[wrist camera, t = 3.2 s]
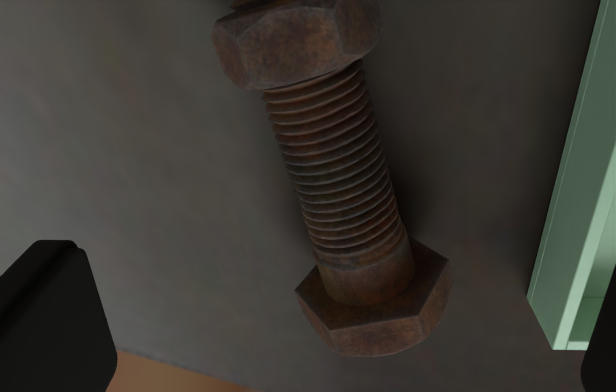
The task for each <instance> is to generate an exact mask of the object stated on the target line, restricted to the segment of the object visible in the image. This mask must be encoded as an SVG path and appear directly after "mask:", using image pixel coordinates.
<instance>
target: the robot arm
mask: <svg viewBox="0 0 616 392" xmlns="http://www.w3.org/2000/svg"><path fill="white" fill-rule="evenodd" d="M116 367H117V352H116V349H115V346H114V342H113V339H112V336H111V332H110V329H109V326H108V323H107V319H106V316H105V313H104V310H103V306H102V303H101V300H100V297H99V293H98V290H97V287H96V284H95V280H94V277H93V274H92V271H91V267H90V264H89V261H88V257H87V255H86V252H85V251H84V250H83V249H81V248H78V247H77V245H76V244H75V243H74V242H73V241H70V240H39V241H36V242H35V243H33V244H32V245H31V246H30V247H29V248H28V249H27V250H26V251H25V252H24V253H23V254H22V255H21V256H20V257H19V258H18V259H17V260H16V261H15V262H14V263H13V264H12V265H11V266H10V267H9V268H8V269H7V270H6V271H5V272H4V273H3V274H2V276H1V277H0V392H105V391H106V389H107V387H108V385H109V383H110V381H111V379H112V377H113V375H114V373H115V371H116ZM581 380H582V384H583V387H584V389H585V391H586V392H616V264H615V267H614V270H613V273H612V276H611V279H610V282H609V285H608V288H607V291H606V294H605V297H604V300H603V303H602V306H601V309H600V312H599V315H598V318H597V321H596V324H595V327H594V330H593V332H592V335H591V338H590V341H589V344H588V347H587V350H586V353H585V356H584V359H583V362H582V365H581Z"/></svg>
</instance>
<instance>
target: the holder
mask: <svg viewBox="0 0 616 392" xmlns="http://www.w3.org/2000/svg"><path fill="white" fill-rule="evenodd" d="M615 264H616V0H601V2H600V6H599V10H598V14H597V18H596V22H595V26H594V30H593V34H592V38H591V42H590V46H589V50H588V54H587V58H586V62H585V66H584V70H583V74H582V78H581V82H580V86H579V90H578V94H577V98H576V102H575V106H574V110H573V114H572V118H571V122H570V126H569V130H568V134H567V138H566V142H565V146H564V150H563V154H562V158H561V162H560V166H559V170H558V174H557V178H556V182H555V186H554V190H553V194H552V198H551V202H550V206H549V210H548V213H547V217H546V221H545V225H544V229H543V233H542V237H541V241H540V245H539V249H538V253H537V257H536V261H535V265H534V269H533V273H532V277H531V281H530V285H529V289H528V293H527V299H528V301H529V303H530V304H531V307H532V309H533V311H534V313H535V315H536V317H537V319H538V321H539V323H540V325H541V327H542V329H543V331H544V333H545V335H546V337H547V339H548V341H549V343H550V345H551V347H552V349H554V350H564V349H566V350H587V347H588V344H589V341H590V338H591V335H592V332H593V330H594V327H595V324H596V321H597V318H598V315H599V312H600V309H601V306H602V303H603V300H604V297H605V294H606V291H607V288H608V285H609V282H610V279H611V276H612V273H613V270H614V267H615Z"/></svg>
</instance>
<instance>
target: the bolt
mask: <svg viewBox="0 0 616 392" xmlns="http://www.w3.org/2000/svg"><path fill="white" fill-rule="evenodd" d="M230 8H232V9H234V10H237V11H236V12H233V13H231V14H229V15H226V16H224V17H222V18H220V19H219V20H217V21H216V23H215V26H214V28H213V32H212V35H211V39H212V41H213V44H214V47H215V49H216V52H217V55H218V57H219V60H220V63H221V65H222V68H223V71H224V73H225V74H226V75H227V76H228V78H229V79H230V80H231V81H232V82H233V83H234V84H235V85H237V86H238V87H239V88H241V89H245V90H261V91H264V92H265V93H264V94H263V96H262V100H264V101H266V102H268V104H267V105H266V108H265V109H266V111H268V112H271V114H270V116H269V120H270V121H271V122H273V123H274V125H273V126H272V129H273V131H274V132H275V133H277V134H276V140H277V142H278V143H280V145H279V148H280V150H281V152H282V153H283V154H282V157H283V159H284V162H286V164H285V165H286V168H287V170H288V172H289V173H288V174H289V178H290V179H292V185H293V186H294V188H295V192H296V195H297V196H298V202H299V204H300V205H301V212H302V213H303V217H304V221H305V223H306V226H307V229H308V231H309V236H310V238H311V240H312V244H313V255H314V258H315V260H316V263H317V265H316V266H315V267H314V268H313V269H312V270H311V272H310V273H309V274H308V275H307V276H306V277H305V279H304V280H303V281H302V282H301V283H300V284H299V286H298V287H297V288H296V289H295V290H294V291H295V293H296V296H297V299H298V301H299V304H300V306H301V309H302V311H303V313H304V315H305V316H306V318H307V319H308V321H309V322H310V324H311V325H312V327H313V328H314V329H315V331H316V332H317V333H318V335H319V336H320V337H321V338H322V340H323V341H324V342H325V344H326V345H327V346H328V347H329V348H330V349H331V350H332V351H334V352H335V353H337V354H338V355H344V356H352V357H379V356H386V355H391V354H394V353H397V352H400V351H403V350H406V349H408V348H410V347H412V346H414V345H416V344H418V343H420V342H422V341H424V340H425V339H426V338H427V337H428V336H429V335H430V334H432V333H433V331H434V330H435V328H436V327H437V326H438V324H439V322H440V320H441V318H442V317H443V315H444V313H445V310H446V307H447V305H448V302H449V299H450V295H451V291H452V288H453V278H452V273H451V268H450V263H449V260H448V259H446V258H445V257H443V256H441V255H440V254H438V253H436V252H435V251H433V250H431V249H430V248H428V247H426V246H425V245H423V244H422V243H420V242H418V241H417V240H415V239H413V238H412V237H410V236H408V235H407V232H406V228H405V226H404V224H403V223H402V222H401V218H400V215H399V212H398V206H397V203H396V197H395V195H394V189H393V186H392V181H391V179H390V177H389V176H390V172H389V169H388V168H387V160H386V159H385V151H384V150H383V149H382V148H383V144H382V141H381V140H380V138H381V136H380V134H379V131H378V123H377V122H376V121H375V117H376V115H375V113H374V111H373V110H372V109H373V104H372V102H371V100H369V99H370V97H371V96H370V94H369V92H368V90H366V88H367V86H368V85H367V82H366V81H365V80H364V79H363V78H364V76H365V72H364V70H362V69H360V67H361V66H362V60H360V59H359V58H361V57H363V56H365V55H366V54H367V53H369V52H370V51H371V50H372V49H374V48H375V46H376V45H377V43H378V41H379V39H380V37H381V35H382V33H383V31H384V29H385V27H386V22H385V17H384V12H383V8H382V3H381V0H234V2H233V4H232V5H231V7H230Z"/></svg>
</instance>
